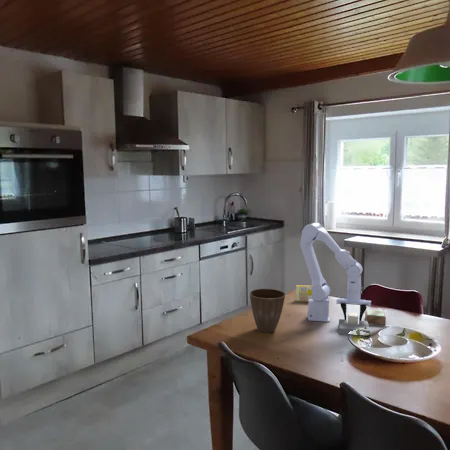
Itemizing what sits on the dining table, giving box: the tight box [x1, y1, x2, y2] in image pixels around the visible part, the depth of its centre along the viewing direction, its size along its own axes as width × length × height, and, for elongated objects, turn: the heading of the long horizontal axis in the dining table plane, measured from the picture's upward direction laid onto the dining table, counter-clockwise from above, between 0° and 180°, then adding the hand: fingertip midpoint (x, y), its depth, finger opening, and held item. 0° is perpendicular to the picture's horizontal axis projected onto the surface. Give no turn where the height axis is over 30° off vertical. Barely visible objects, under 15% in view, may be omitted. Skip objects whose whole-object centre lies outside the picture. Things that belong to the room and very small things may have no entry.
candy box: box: [295, 284, 313, 302], centre depth 233 cm, size 16×2×8 cm, turn 84°
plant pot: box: [249, 288, 286, 334], centre depth 190 cm, size 15×15×16 cm
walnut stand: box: [364, 309, 387, 326], centre depth 202 cm, size 8×8×4 cm
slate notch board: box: [338, 318, 371, 336], centre depth 191 cm, size 12×12×2 cm
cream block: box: [347, 312, 359, 324], centre depth 198 cm, size 4×4×4 cm
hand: (352, 320), depth 199 cm, fingers open, 6 cm apart
